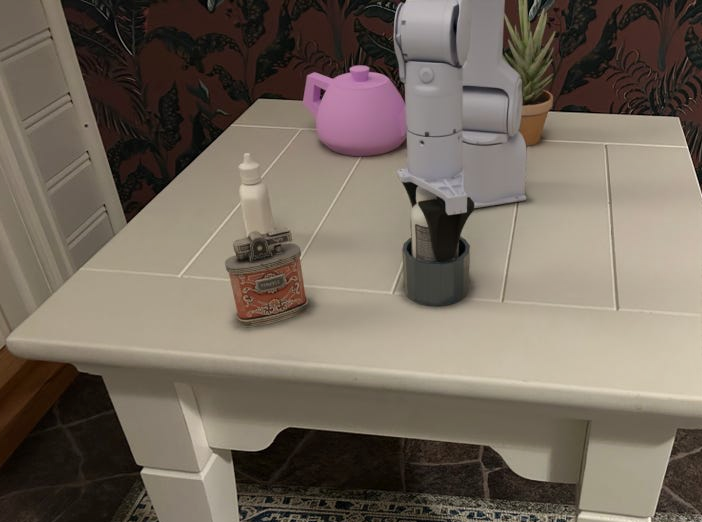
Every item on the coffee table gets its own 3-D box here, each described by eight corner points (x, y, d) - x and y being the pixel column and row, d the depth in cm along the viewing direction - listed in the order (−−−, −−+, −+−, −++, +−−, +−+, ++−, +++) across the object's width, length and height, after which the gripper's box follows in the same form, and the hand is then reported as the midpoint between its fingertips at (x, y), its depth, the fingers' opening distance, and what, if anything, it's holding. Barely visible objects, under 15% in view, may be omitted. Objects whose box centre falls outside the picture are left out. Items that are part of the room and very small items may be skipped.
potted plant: (495, 127, 128) (501, -30, 113) (550, 130, 127) (563, -29, 112) (490, 149, 120) (495, -17, 105) (548, 152, 119) (562, -15, 104)
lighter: (242, 331, 80) (224, 250, 73) (234, 315, 82) (216, 235, 76) (312, 311, 83) (301, 232, 76) (303, 297, 85) (291, 219, 79)
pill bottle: (467, 271, 84) (469, 191, 78) (428, 284, 82) (426, 204, 76) (442, 251, 87) (441, 174, 81) (403, 264, 85) (399, 185, 79)
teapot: (284, 148, 121) (273, 73, 113) (330, 118, 132) (323, 47, 125) (405, 168, 114) (402, 90, 107) (443, 134, 125) (442, 61, 118)
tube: (456, 267, 90) (456, 227, 87) (478, 299, 84) (479, 257, 81) (397, 278, 88) (394, 237, 85) (415, 311, 82) (413, 269, 79)
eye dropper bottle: (235, 249, 94) (217, 160, 87) (260, 230, 98) (245, 143, 91) (264, 256, 93) (248, 165, 85) (288, 236, 97) (275, 148, 89)
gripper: (378, 108, 79) (385, 222, 87) (417, 158, 68) (421, 283, 76) (440, 101, 81) (441, 213, 89) (488, 148, 70) (484, 272, 78)
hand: (436, 245), depth 83 cm, fingers closed on pill bottle, 5 cm apart
